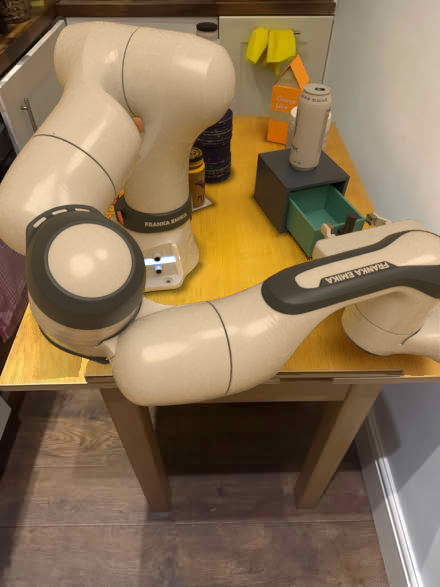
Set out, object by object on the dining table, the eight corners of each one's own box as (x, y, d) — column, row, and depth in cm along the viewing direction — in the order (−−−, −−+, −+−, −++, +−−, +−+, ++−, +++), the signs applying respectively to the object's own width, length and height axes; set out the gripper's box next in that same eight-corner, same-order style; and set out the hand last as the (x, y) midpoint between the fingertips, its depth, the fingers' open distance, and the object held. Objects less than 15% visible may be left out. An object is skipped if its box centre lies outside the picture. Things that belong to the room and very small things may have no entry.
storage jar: (191, 162, 105) (189, 103, 94) (229, 162, 105) (232, 103, 94) (191, 184, 98) (188, 122, 87) (231, 183, 98) (234, 123, 87)
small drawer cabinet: (337, 220, 89) (350, 176, 81) (279, 233, 86) (287, 188, 78) (306, 186, 98) (315, 143, 90) (253, 197, 95) (258, 153, 87)
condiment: (212, 204, 92) (213, 155, 84) (179, 216, 89) (176, 166, 80) (195, 188, 97) (194, 140, 88) (164, 199, 93) (159, 150, 84)
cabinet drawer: (365, 255, 80) (382, 211, 73) (316, 267, 78) (328, 223, 70) (324, 208, 90) (335, 166, 83) (279, 218, 88) (286, 175, 80)
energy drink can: (289, 156, 86) (301, 80, 75) (317, 158, 86) (334, 83, 75) (287, 170, 82) (299, 93, 71) (317, 173, 82) (334, 96, 70)
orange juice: (300, 132, 117) (314, 55, 103) (293, 145, 112) (306, 66, 97) (274, 127, 119) (283, 51, 104) (265, 140, 113) (274, 62, 99)
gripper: (333, 300, 65) (293, 246, 74) (436, 271, 70) (387, 223, 79) (342, 272, 60) (299, 217, 69) (452, 243, 65) (399, 196, 74)
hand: (347, 220), depth 74 cm, fingers open, 8 cm apart
